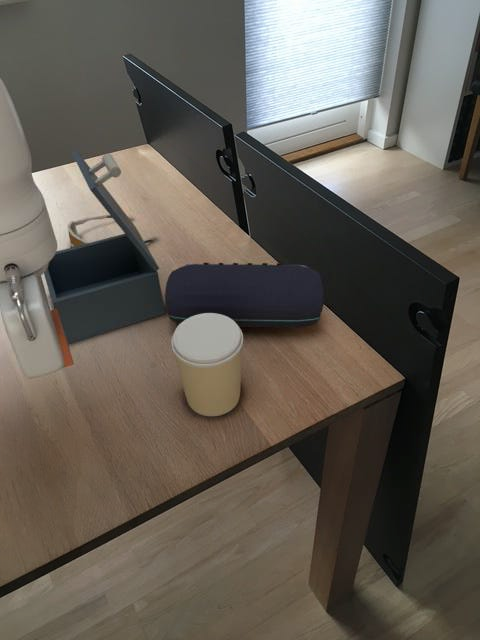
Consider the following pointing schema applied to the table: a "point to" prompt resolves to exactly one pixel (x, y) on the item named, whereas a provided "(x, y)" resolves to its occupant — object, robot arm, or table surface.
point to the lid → (112, 200)
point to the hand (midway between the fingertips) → (44, 346)
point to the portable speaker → (246, 294)
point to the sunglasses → (72, 225)
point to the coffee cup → (209, 362)
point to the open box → (102, 287)
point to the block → (62, 339)
